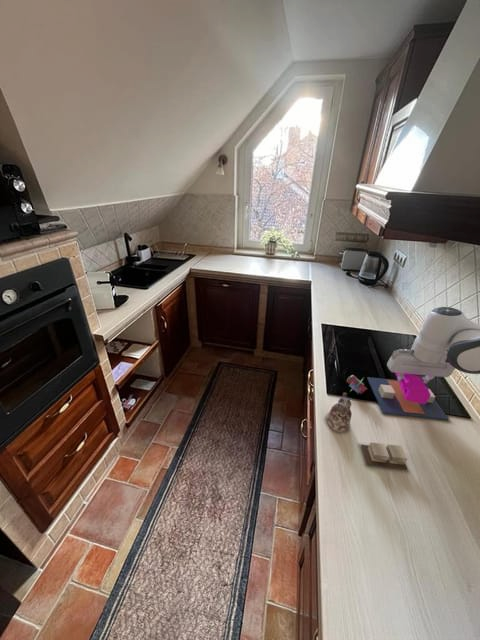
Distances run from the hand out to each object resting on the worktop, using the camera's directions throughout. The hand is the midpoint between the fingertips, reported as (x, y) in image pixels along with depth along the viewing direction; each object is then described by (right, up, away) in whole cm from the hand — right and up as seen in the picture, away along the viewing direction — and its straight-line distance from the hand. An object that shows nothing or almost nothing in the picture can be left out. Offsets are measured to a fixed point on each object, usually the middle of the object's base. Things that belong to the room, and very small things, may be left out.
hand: (411, 381), depth 93 cm
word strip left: (-20, -19, -17) cm, 32 cm away
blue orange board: (0, -7, +4) cm, 9 cm away
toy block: (0, -3, +1) cm, 3 cm away
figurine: (-30, -13, -6) cm, 33 cm away
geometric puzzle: (-18, -6, +7) cm, 20 cm away
